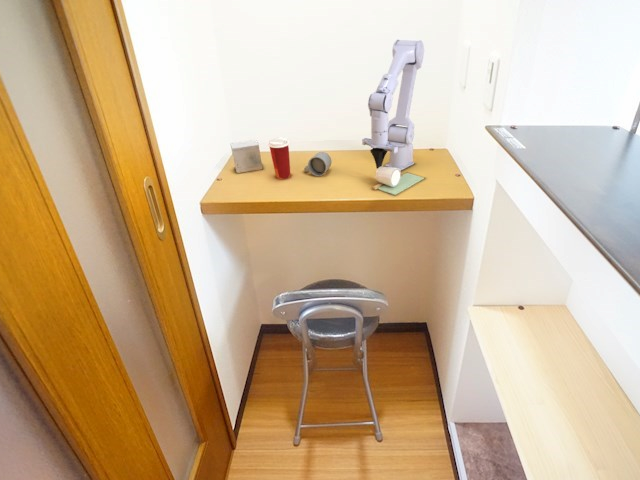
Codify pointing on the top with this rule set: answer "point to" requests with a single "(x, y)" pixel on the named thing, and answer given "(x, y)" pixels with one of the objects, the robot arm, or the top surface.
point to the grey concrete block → (246, 156)
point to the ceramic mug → (319, 164)
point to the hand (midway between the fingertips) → (379, 167)
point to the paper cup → (280, 157)
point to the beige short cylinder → (388, 176)
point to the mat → (401, 184)
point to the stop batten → (378, 186)
